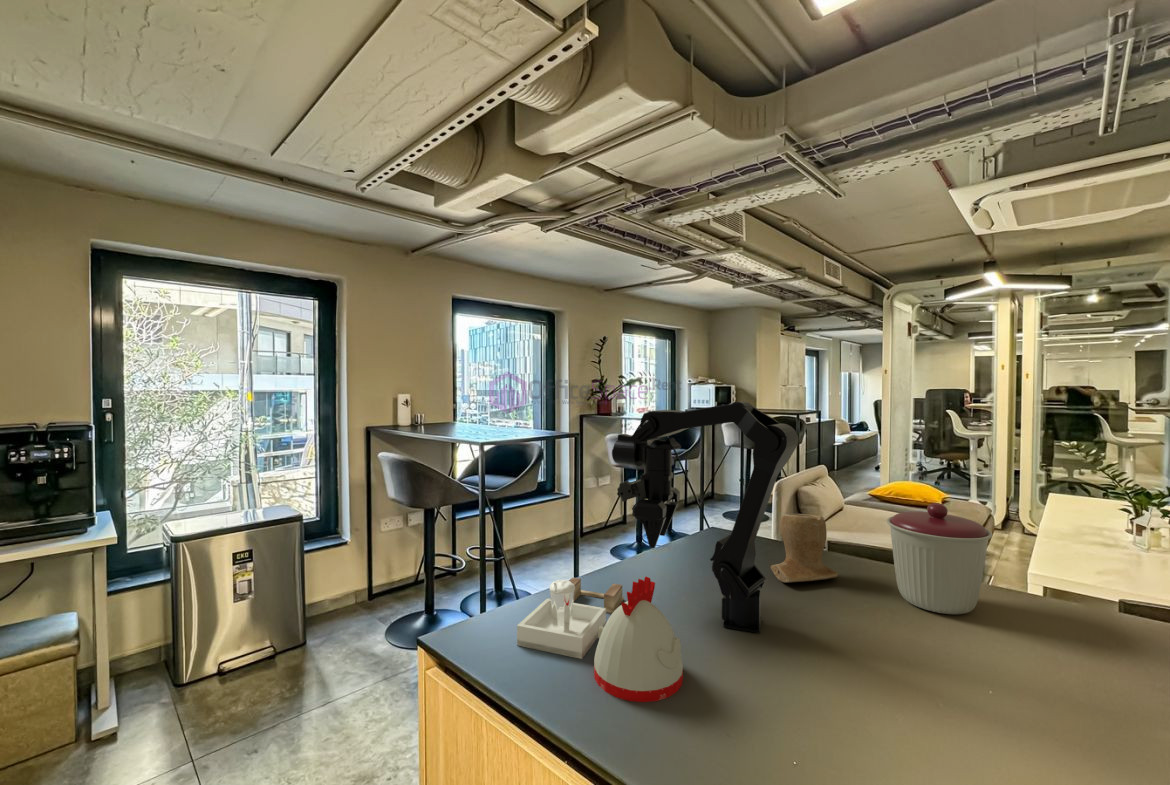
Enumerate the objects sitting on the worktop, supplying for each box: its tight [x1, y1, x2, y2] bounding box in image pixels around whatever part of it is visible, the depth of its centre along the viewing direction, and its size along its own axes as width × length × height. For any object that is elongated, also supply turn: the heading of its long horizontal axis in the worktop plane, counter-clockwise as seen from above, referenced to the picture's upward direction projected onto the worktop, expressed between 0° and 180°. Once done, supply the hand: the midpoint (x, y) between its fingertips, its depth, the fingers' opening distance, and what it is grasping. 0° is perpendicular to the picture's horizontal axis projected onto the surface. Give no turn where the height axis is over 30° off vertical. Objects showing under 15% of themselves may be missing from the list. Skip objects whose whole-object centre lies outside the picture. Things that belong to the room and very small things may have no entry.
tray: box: [516, 598, 607, 660], centre depth 93 cm, size 12×12×4 cm
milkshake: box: [549, 579, 575, 633], centre depth 92 cm, size 5×5×10 cm
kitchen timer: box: [593, 576, 684, 703], centre depth 81 cm, size 14×14×15 cm
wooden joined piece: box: [568, 577, 625, 614], centre depth 107 cm, size 11×7×4 cm, turn 69°
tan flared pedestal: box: [770, 513, 839, 583], centre depth 122 cm, size 15×12×15 cm
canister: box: [886, 502, 993, 615], centre depth 107 cm, size 18×18×21 cm
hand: (657, 541), depth 110 cm, fingers open, 9 cm apart
